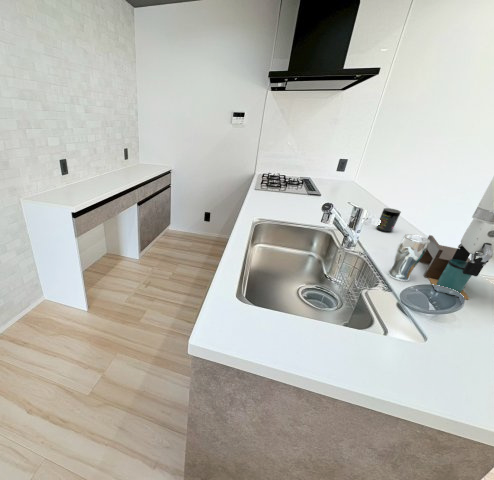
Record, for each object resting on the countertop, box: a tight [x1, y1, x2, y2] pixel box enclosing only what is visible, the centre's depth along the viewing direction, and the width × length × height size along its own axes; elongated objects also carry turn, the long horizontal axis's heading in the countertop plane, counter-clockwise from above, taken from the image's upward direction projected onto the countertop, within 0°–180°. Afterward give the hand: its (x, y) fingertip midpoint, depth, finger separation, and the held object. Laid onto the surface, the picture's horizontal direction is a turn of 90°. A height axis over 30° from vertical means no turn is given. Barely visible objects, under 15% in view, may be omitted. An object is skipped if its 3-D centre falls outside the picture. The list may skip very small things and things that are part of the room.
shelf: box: [419, 234, 471, 280], centre depth 92 cm, size 10×14×11 cm
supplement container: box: [375, 207, 402, 234], centre depth 127 cm, size 7×7×10 cm
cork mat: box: [428, 278, 470, 301], centre depth 85 cm, size 8×8×1 cm
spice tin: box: [436, 259, 473, 293], centre depth 83 cm, size 6×6×9 cm
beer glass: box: [387, 233, 430, 282], centre depth 88 cm, size 7×7×15 cm
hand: (463, 267), depth 81 cm, fingers open, 9 cm apart
